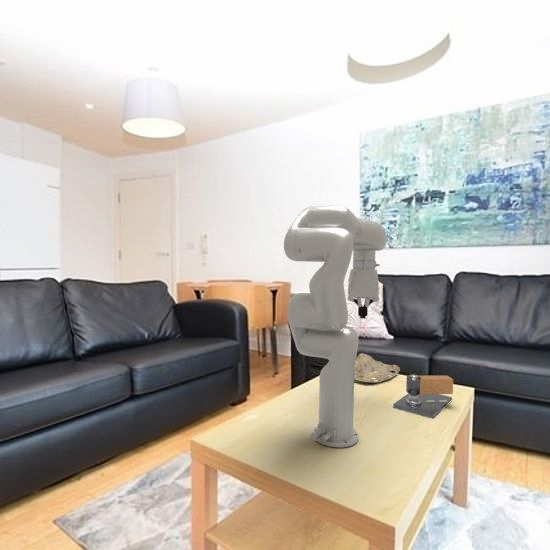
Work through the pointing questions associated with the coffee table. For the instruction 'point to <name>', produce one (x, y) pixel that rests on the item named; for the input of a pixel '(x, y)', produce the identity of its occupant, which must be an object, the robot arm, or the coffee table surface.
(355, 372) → the stone
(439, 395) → the post base
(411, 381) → the orange boxy piece
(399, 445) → the coffee table surface
